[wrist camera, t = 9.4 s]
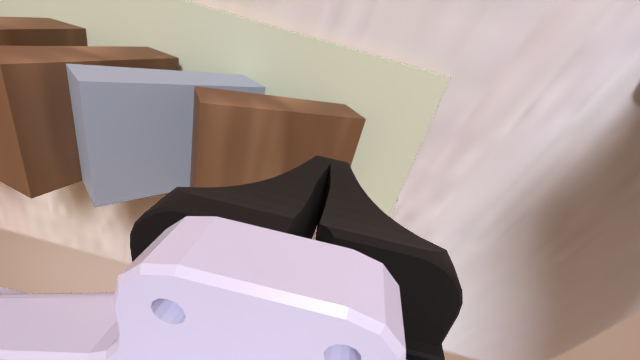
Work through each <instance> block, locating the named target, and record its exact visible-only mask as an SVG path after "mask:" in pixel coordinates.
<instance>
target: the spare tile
mask: <svg viewBox="0 0 640 360" xmlns="http://www.w3.org/2000/svg"><path fill="white" fill-rule="evenodd" d="M66 70H67V77H68V84H69V91H70V97H71V104H72V111H73V118H74V125H75V132H76V139H77V146H78V153H79V160H80V166H81V173H82V180H83V184H84V186H85V188H86V190H87V192H88V194H89V196H90V198H91V200H92V202H93V204H94V207H99V206H104V205H109V204H114V203H119V202H124V201H129V200H135V199H140V198H145V197H150V196H155V195H160V194H165V193H170V192H171V191H172V190H173V189H175V188H176V187H190V172H191V151H192V129H193V107H194V86H199V87H207V88H215V89H223V90H231V91H240V92H248V93H256V94H264V95H265V88H266V87H264V86H262V85H261V84H259V83H257V82H255V81H254V80H252V79H250V78H248V77H246V76H245V75H240V74H224V73H208V72H192V71H176V70H161V69H145V68H129V67H113V66H97V65H82V64H66Z"/></svg>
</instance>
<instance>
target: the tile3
mask: <svg viewBox="0 0 640 360" xmlns="http://www.w3.org/2000/svg"><path fill="white" fill-rule="evenodd" d="M66 64H82V65H97V66H113V67H129V68H145V69H161V70H176V71H178V69H179V58H178V57H175V56H172V55H169V54H167V53H164V52H161V51H158V50H156V49H153V48H150V47H134V46H0V181H1V182H3V183H5V184H6V185H8V186H10V187H12V188H14V189H15V190H17V191H19V192H21V193H22V194H24V195H26V196H28V197H30V198H34V197H37V196H40V195H43V194H45V193H48V192H51V191H54V190H56V189H59V188H62V187H65V186H68V185H70V184H73V183H76V182H79V181H82V173H81V166H80V160H79V153H78V146H77V139H76V132H75V125H74V118H73V111H72V104H71V97H70V91H69V84H68V77H67V70H66Z"/></svg>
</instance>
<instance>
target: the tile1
mask: <svg viewBox="0 0 640 360" xmlns="http://www.w3.org/2000/svg"><path fill="white" fill-rule="evenodd" d="M365 121H366V119H365V118H364V117H362V116H361V115H360V114H358V113H357V112H355V111H354V110H353V109H351V108H350V107H348V106H347V105H346V104H338V103H330V102H322V101H313V100H305V99H297V98H289V97H281V96H272V95H264V94H256V93H248V92H240V91H231V90H223V89H215V88H207V87H199V86H194V107H193V129H192V151H191V172H190V187H227V186H237V185H243V184H248V183H254V182H259V181H263V180H266V179H270V178H273V177H276V176H279V175H281V174H283V173H286V172H288V171H290V170H292V169H294V168H296V167H298V166H300V165H302V164H303V163H305V162H307V161H308V160H310V159H312V158H313V157H315V156H322V157H326V158H331V159H335V160H340V161H344V162H348V163H349V165H350V166H351V164H352V161H353V158H354V155H355V152H356V149H357V145H358V142H359V139H360V136H361V133H362V130H363V127H364V124H365Z"/></svg>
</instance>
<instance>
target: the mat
mask: <svg viewBox="0 0 640 360" xmlns="http://www.w3.org/2000/svg"><path fill="white" fill-rule="evenodd" d="M0 17H34V18H51V19H55V20H58V21H62V22H65V23H68V24H72V25H75V26H79V27H82V28H86V34H87V44H88V46H134V47H150V48H153V49H156V50H158V51H161V52H164V53H167V54H169V55H172V56H175V57H178V58H179V69H178V71H192V72H208V73H224V74H240V75H245V76H246V77H248V78H250V79H252V80H254V81H255V82H257V83H259V84H261V85H262V86H264V87H266V88H265V95H272V96H281V97H289V98H297V99H305V100H313V101H322V102H330V103H338V104H346V105H347V106H348V107H350V108H351V109H353V110H354V111H355V112H357V113H358V114H360V115H361V116H362V117H364V118H365V119H366V121H365V124H364V127H363V130H362V133H361V136H360V139H359V142H358V145H357V149H356V152H355V155H354V158H353V161H352V164H351V169H352V171H353V173H354V175H355V177H356V179H357V181H358V182H359V184H360V186H361V187H362V189H363V190H364V191H365V193H366V194H367V195H368V197H369V198H370V199H371V200H372V201H373V202H374V203H375V204H376V205H377V206H378V207H379V208H380V209H381V210H382V211H383V212H384V213H385V214H387V215H388V216H390V214H391V212H392V210H393V207H394V205H395V203H396V201H397V198H398V196H399V194H400V191H401V189H402V187H403V185H404V182H405V180H406V178H407V175H408V173H409V171H410V169H411V166H412V164H413V162H414V160H415V157H416V155H417V153H418V150H419V148H420V146H421V144H422V141H423V139H424V137H425V134H426V132H427V130H428V128H429V125H430V123H431V121H432V119H433V116H434V114H435V112H436V109H437V107H438V105H439V103H440V100H441V98H442V96H443V93H444V91H445V89H446V87H447V84H448V82H449V80H450V78H451V77H449V76H446V75H442V74H439V73H435V72H432V71H428V70H425V69H421V68H418V67H415V66H411V65H408V64H404V63H401V62H397V61H394V60H390V59H387V58H383V57H380V56H376V55H373V54H369V53H366V52H363V51H359V50H356V49H352V48H349V47H345V46H342V45H338V44H335V43H331V42H328V41H324V40H321V39H318V38H314V37H311V36H307V35H304V34H300V33H297V32H293V31H290V30H286V29H283V28H279V27H276V26H272V25H269V24H266V23H262V22H259V21H255V20H252V19H248V18H245V17H241V16H238V15H234V14H231V13H227V12H224V11H220V10H217V9H214V8H210V7H207V6H203V5H200V4H196V3H193V2H189V1H186V0H0Z"/></svg>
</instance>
